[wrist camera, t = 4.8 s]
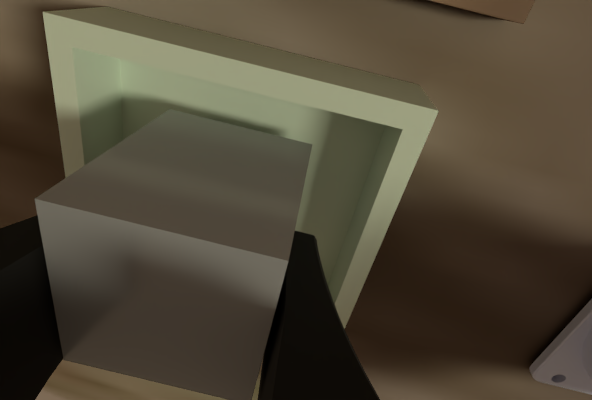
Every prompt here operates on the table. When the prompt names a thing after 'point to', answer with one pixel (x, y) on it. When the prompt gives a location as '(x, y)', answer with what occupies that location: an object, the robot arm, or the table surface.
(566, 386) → the robot arm
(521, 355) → the table surface
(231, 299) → the grey block
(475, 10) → the brown shallow tray
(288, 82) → the green bin
